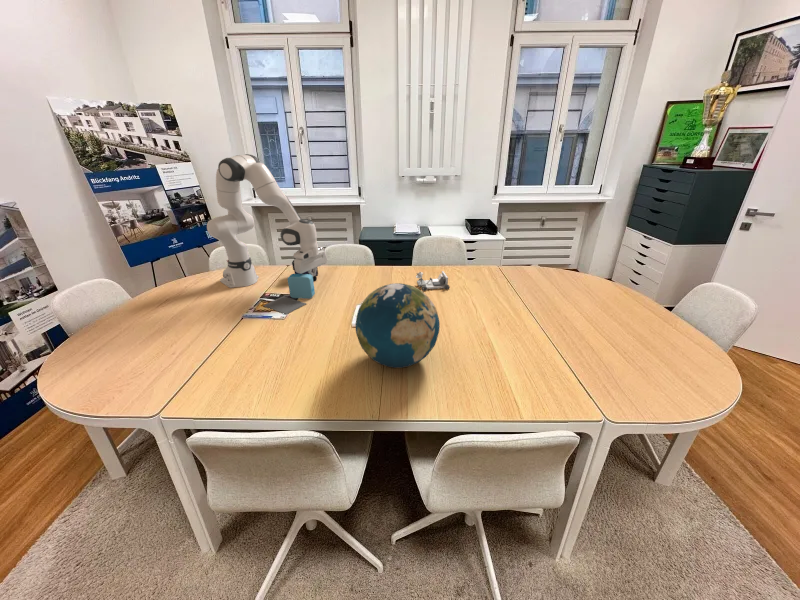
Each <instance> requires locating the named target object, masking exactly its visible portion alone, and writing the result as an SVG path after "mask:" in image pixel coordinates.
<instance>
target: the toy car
mask: <svg viewBox="0 0 800 600" xmlns="http://www.w3.org/2000/svg"><path fill="white" fill-rule="evenodd" d="M423 275H424V272H422V271H419V272H416V276H415V278H416V279H418V280H416V283H417V285H418V287H421V291H422V292H427V291H428V290H435V289H444V290H450V285H449V284H448V283H449V276H447V274H446V273H445V271H444V270H442V271H441V273H440V274H439V275H438V277H437V278H432V277H430V278H429V279H426V280H425V279H423Z"/></svg>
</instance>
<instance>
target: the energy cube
mask: <svg viewBox="0 0 800 600" xmlns="http://www.w3.org/2000/svg"><path fill="white" fill-rule="evenodd" d="M294 260H295V258H294V257H293V260H292V262H291V265H292V270H293V272H294V274H299V273H296V272H295V267H294ZM311 272H313V269H312V271H311ZM302 274H309V272H308V271H307V272H304V273H302ZM318 275H319V270H318V267H317V271H316V275H315V276H313V282H317V279H318Z"/></svg>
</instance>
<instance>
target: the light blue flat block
mask: <svg viewBox="0 0 800 600" xmlns="http://www.w3.org/2000/svg"><path fill="white" fill-rule="evenodd" d="M314 282H315V281H313V276H312V275H310V274H295V273H292V274H290V275H289V276H288V277H287V285H288V290H289V296H290V298H291V299H305V300H306V299H309V300H311V299H312V298H313V297H314V296H315V294H316V292H315V291H316V290H315V283H314Z"/></svg>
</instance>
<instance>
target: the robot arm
mask: <svg viewBox="0 0 800 600" xmlns="http://www.w3.org/2000/svg"><path fill="white" fill-rule="evenodd" d="M244 180H245V181H248V182H249V183H250V184H251V185H252V188H253V190H254V191H255V194H256V196H257V197H258V199H260V200H261V202H262V203H263V204H266V205H269V206H273V207H276V208H278V209H279V210H280V211H281V212H282V213H283V215H284V216H285V218H286V219H287V220H288V223H289V225H288V226H285V227H284V228H282V229H281V232H280V235H279V236H280V239H281V241H282V243H284V244H285V245H286V246H296V245H297V246H298V245H299V246H300V247H299V249H298V250H297V251H296V252H294V253H293V255H292V256H293V260H294V258H295V260H294V267H295V272H296V273H299V274H302V273H304V272H307V271H308V272H309V274H310V275H312V276H315V275H316V271H317V268H318V267H321V266H323V265H325V264H327V262H328V257H327V253H326V251H325V247H323V246H320V247H319V244H318V242H317V239H318V234H317V228H316V225H315V223H314V221H313V220H310V219H307V218H301V217H300V215H299V213H298V212H297V210H296V208H295V207H294V205H293V204H292V202H291V201H290V199H289V198H288V196H287V195H285V193H284V192H283V190H282V189H281V187H280V186H279V185H278V182H277V181H276V179H275V177H274V176H273V174H272V172H271V170H269V168H268V167H267V165H265V164H264V163H263V162H260V160H259V159H258V157H257V156H255V155H253V154H237V155H233V156H231V157H226V158H223V159H221V160H220V161H219V163H218V168H217V169H216V174H215V188H216V190H215V191H216V197H217V198H216V199H217V203H218V205H219V206H220V207H221V208H223V209H226V210H227V214H225V215H220V216H217V217H214V218H212V219H210V220H208V221H207V224H206V230H207V232H208V234H209V235H210V236H211V237H213V238H214V239H216V240H218V241H219V242H220V243H221V244H222V246H223V247H224V249H225V253H226V256H227V260H226V263H227V267H225V269H224V270H223V271H222V276H223V277H221V278H220V279H219V282H221V284H223V285H225V286H226V287H228V288H231V289H232V288H233V289H234V288H241V287H242V288H243V287H248V286H251V285H254V284H256V283H257V282H258V279H259V275H258V274H257V272H256V268H255V266H254V264H253V262H252V259H251V256H250V253H249V248H248V245H247V244H246V243H245V242H244V241H241V240H239V239H238V237H237V235H240V234H243V233H247V232H249V231H250V230H252V229H253V228H255V227H254V226H255V220H254V217H253V216H252V214H251V213H249V212H247V211H246V210H245V208H244V206H243V203H242V195H241V194H242V193H241V182H243V181H244ZM312 269H313V272H311V271H312ZM295 272H294V273H295Z"/></svg>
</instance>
